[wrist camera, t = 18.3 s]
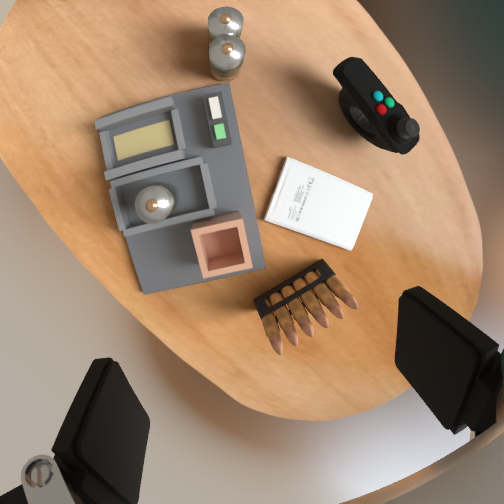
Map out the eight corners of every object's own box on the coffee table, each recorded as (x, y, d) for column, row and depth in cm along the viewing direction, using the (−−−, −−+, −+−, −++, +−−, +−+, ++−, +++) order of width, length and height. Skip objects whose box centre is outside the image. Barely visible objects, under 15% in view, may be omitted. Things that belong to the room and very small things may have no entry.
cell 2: (206, 33, 29) (205, 7, 22) (236, 28, 29) (240, 2, 22) (211, 57, 30) (210, 34, 23) (241, 52, 30) (247, 29, 23)
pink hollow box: (194, 221, 34) (190, 230, 30) (239, 211, 35) (242, 218, 30) (204, 263, 36) (203, 278, 31) (248, 254, 36) (252, 267, 32)
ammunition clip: (322, 258, 39) (362, 296, 27) (328, 269, 39) (367, 310, 28) (253, 299, 39) (267, 352, 28) (260, 310, 40) (276, 364, 28)
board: (101, 118, 30) (89, 114, 26) (228, 84, 31) (230, 75, 27) (145, 291, 37) (138, 305, 33) (264, 265, 38) (270, 277, 34)
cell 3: (207, 58, 30) (206, 35, 23) (237, 53, 30) (242, 30, 23) (212, 84, 31) (211, 66, 24) (242, 79, 31) (249, 60, 24)
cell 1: (146, 187, 33) (128, 193, 26) (175, 178, 33) (164, 181, 26) (154, 217, 34) (139, 229, 27) (183, 208, 34) (174, 219, 27)
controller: (370, 159, 36) (414, 161, 26) (310, 85, 32) (341, 61, 22) (390, 140, 35) (436, 138, 25) (333, 67, 31) (368, 42, 22)
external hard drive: (346, 248, 39) (262, 218, 37) (368, 192, 37) (284, 156, 35) (351, 251, 38) (264, 221, 35) (374, 193, 36) (288, 156, 33)
